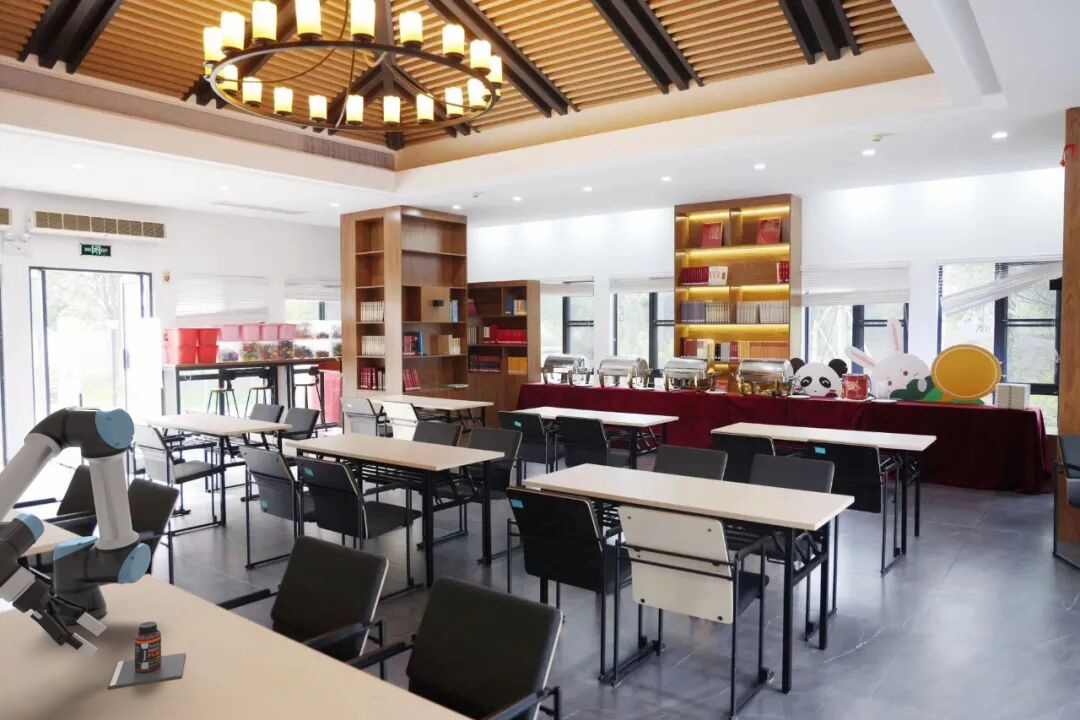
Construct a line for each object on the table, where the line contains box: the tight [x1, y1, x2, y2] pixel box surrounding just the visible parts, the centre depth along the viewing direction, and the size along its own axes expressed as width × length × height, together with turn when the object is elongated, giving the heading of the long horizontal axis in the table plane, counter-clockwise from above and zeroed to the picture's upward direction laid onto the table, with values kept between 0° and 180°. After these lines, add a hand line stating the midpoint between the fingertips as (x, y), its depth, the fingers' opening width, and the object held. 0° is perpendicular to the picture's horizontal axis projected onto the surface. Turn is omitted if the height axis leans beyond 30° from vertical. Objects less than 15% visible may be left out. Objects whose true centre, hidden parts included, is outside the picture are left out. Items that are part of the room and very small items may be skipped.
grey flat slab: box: [107, 652, 186, 690], centre depth 188 cm, size 14×16×1 cm
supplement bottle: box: [134, 621, 162, 673], centre depth 188 cm, size 6×6×11 cm
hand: (97, 642), depth 184 cm, fingers open, 13 cm apart
